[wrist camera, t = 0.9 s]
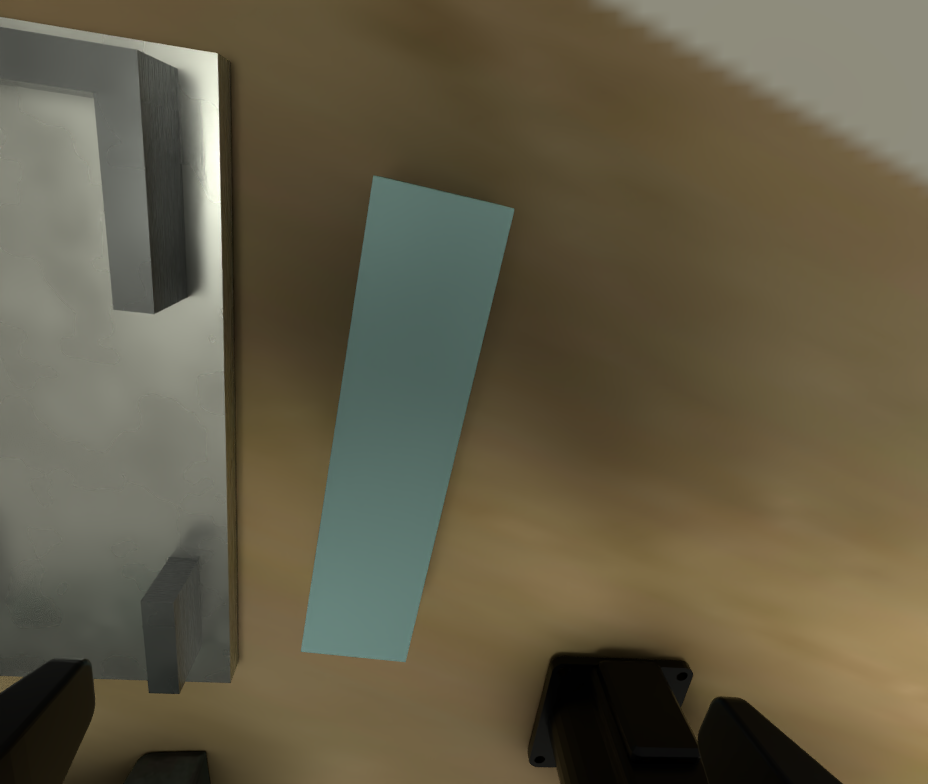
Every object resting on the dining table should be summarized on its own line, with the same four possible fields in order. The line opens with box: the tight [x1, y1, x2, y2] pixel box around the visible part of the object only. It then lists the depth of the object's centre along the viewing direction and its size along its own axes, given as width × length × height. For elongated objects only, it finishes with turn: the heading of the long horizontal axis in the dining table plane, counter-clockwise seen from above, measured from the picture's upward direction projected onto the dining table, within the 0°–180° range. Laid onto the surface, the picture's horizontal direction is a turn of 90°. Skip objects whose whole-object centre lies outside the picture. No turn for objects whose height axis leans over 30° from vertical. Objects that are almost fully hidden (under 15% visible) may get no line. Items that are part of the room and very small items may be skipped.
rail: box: [301, 176, 514, 662], centre depth 17 cm, size 15×4×4 cm, turn 167°
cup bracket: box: [0, 17, 238, 694], centre depth 17 cm, size 22×11×3 cm, turn 172°
